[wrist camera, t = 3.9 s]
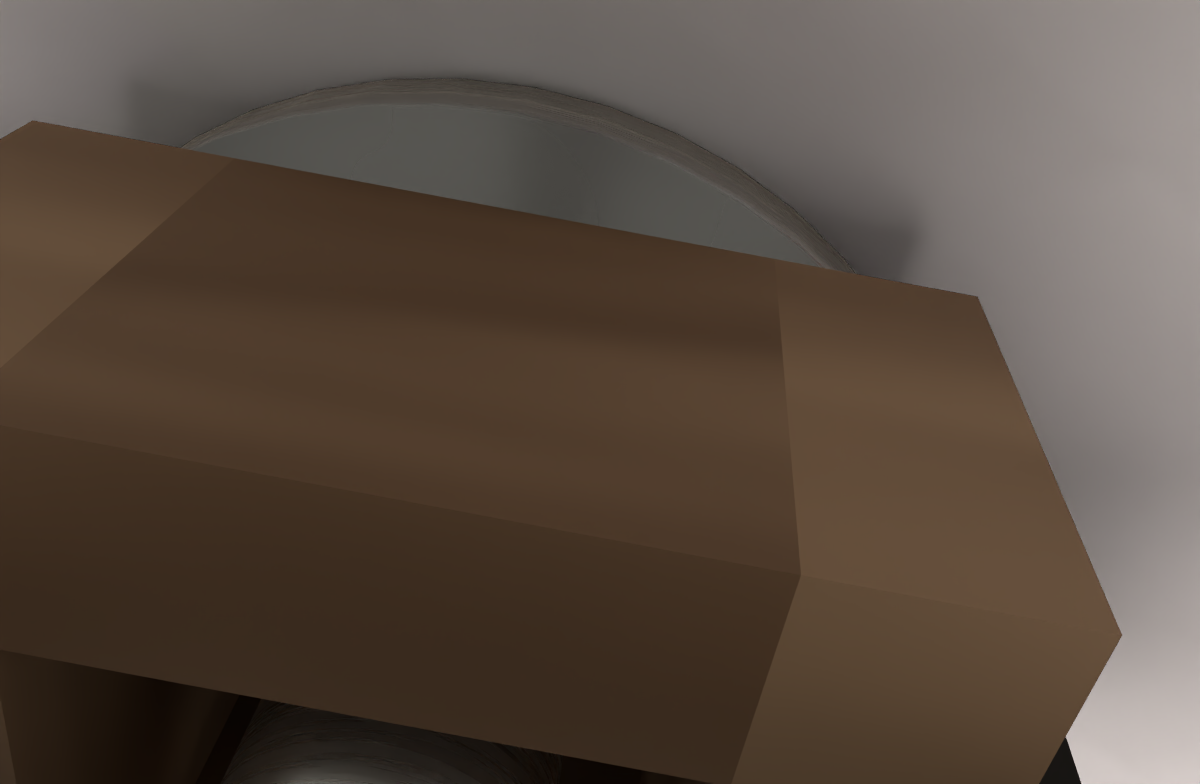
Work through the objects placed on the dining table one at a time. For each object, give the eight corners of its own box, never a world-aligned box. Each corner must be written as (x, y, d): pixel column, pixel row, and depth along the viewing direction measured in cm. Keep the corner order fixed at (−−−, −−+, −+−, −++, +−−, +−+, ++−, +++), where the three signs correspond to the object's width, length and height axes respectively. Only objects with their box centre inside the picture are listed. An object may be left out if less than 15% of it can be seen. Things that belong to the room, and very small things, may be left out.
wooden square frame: (32, 120, 8) (-371, 355, 5) (976, 297, 8) (1121, 635, 5) (107, 756, 12) (-102, 1107, 9) (756, 879, 12) (765, 1272, 9)
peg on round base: (-28, -18, 9) (-747, 218, 4) (1093, 191, 9) (1450, 628, 4) (72, 753, 13) (-234, 1232, 9) (806, 889, 13) (845, 1434, 9)
